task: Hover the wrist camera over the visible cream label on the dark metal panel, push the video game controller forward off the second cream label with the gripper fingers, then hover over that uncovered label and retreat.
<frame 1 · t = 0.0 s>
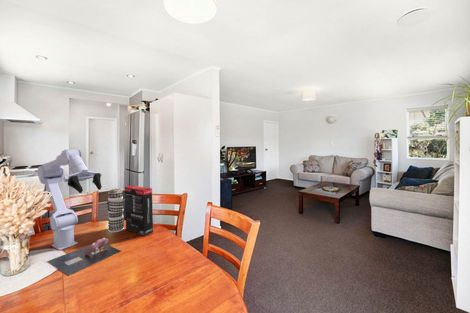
hand: (91, 189, 92), 32 cm above the table, tool tilted 50°, fingers open, 7 cm apart
decorative candle: (116, 229, 128), on the table
graphics card box: (139, 232, 125), on the table
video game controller: (97, 251, 102), resting on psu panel
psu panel: (86, 256, 98), on the table
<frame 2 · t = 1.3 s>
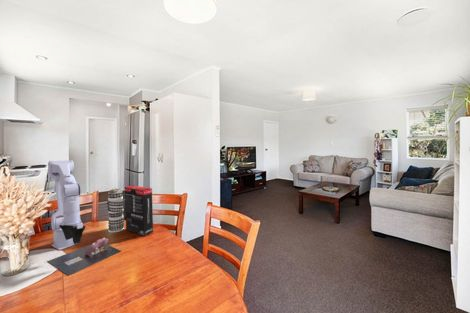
hand: (72, 240, 93), 9 cm above the table, tool pointing down, fingers open, 7 cm apart
nothing on the table moved.
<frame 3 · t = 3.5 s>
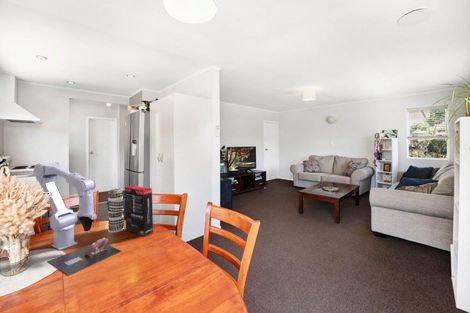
hand: (87, 230, 104), 9 cm above the table, tool pointing down, fingers closed
nothing on the table moved.
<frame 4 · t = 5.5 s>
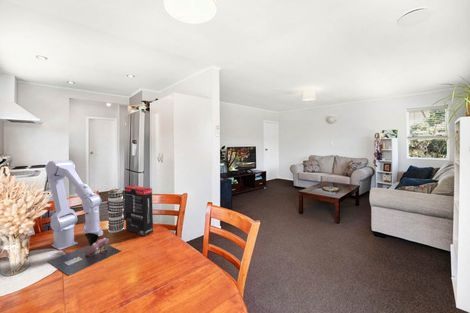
hand: (93, 246, 104), 1 cm above the table, tool pointing down, fingers closed
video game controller: (98, 251, 102), resting on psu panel, touching gripper
everything else where it was.
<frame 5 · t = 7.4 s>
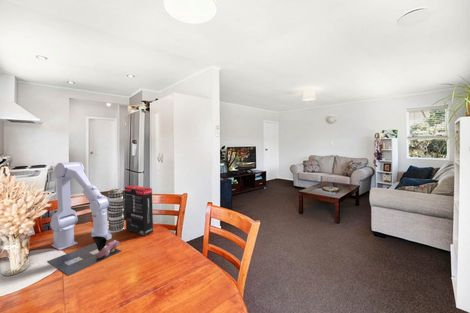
hand: (101, 250, 100), 1 cm above the table, tool pointing down, fingers closed
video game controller: (108, 254, 99), resting on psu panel, touching gripper
everything else where it was.
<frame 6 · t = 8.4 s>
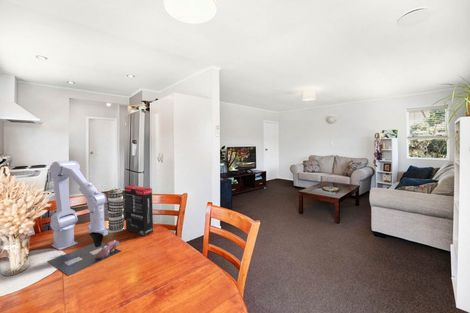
hand: (98, 246, 101), 3 cm above the table, tool pointing down, fingers closed
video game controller: (108, 254, 99), resting on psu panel
everything else where it was.
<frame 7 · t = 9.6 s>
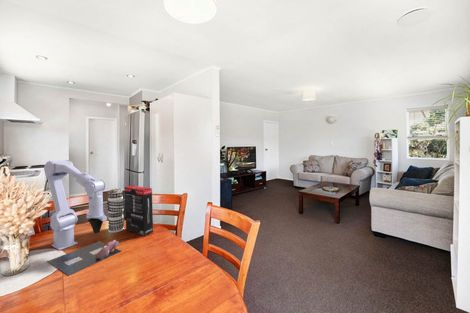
hand: (96, 232, 101), 9 cm above the table, tool pointing down, fingers closed
nothing on the table moved.
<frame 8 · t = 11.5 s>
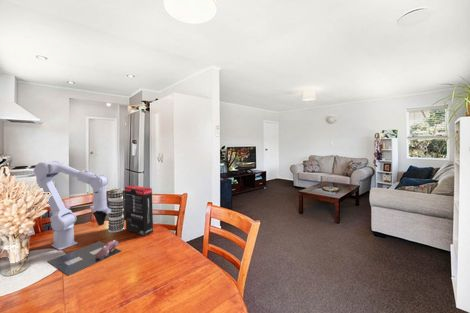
hand: (100, 224, 109), 10 cm above the table, tool pointing down, fingers closed
nothing on the table moved.
at the end: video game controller inside the target area (1.5 cm from its centre), resting on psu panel; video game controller tilted 2° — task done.
